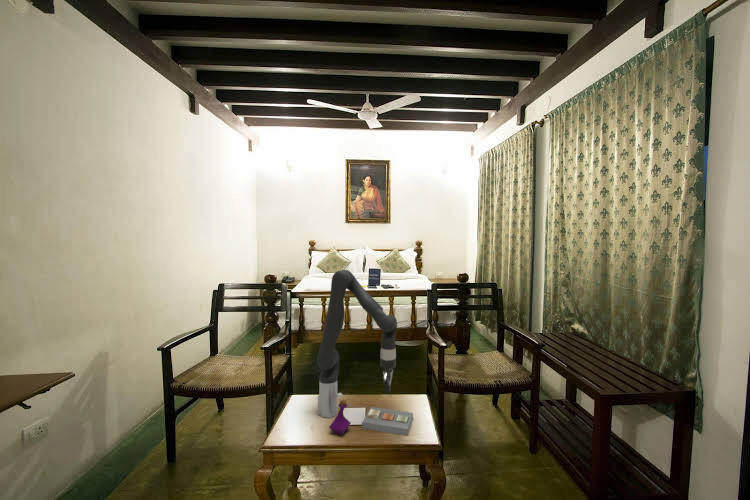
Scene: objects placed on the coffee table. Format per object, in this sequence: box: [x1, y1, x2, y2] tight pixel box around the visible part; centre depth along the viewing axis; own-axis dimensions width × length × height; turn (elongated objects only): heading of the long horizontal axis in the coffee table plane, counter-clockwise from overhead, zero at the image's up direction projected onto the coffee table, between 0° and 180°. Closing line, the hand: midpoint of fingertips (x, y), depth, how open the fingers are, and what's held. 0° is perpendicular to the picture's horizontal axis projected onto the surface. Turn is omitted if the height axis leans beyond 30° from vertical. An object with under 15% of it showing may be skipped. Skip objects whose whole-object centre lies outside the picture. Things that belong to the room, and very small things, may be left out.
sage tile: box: [396, 415, 408, 423], centre depth 160 cm, size 5×5×2 cm
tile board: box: [361, 406, 414, 437], centre depth 161 cm, size 22×15×3 cm
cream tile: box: [367, 409, 381, 419], centre depth 163 cm, size 5×5×2 cm
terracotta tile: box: [382, 413, 394, 421], centre depth 161 cm, size 5×5×2 cm
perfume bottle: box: [328, 392, 352, 436], centre depth 154 cm, size 8×8×18 cm
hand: (387, 391), depth 161 cm, fingers closed
